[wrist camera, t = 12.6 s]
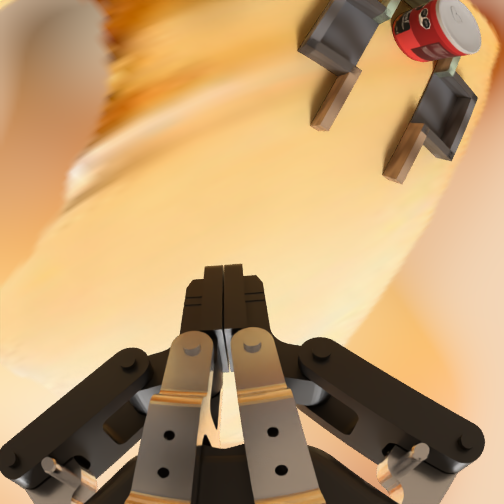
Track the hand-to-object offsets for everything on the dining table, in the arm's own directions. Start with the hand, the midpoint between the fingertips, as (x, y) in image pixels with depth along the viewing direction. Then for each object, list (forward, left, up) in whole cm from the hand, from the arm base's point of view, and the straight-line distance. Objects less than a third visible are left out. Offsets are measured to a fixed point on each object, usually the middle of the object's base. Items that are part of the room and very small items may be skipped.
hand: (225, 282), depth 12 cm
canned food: (-17, +32, -25) cm, 44 cm away
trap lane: (-11, +27, -25) cm, 38 cm away
